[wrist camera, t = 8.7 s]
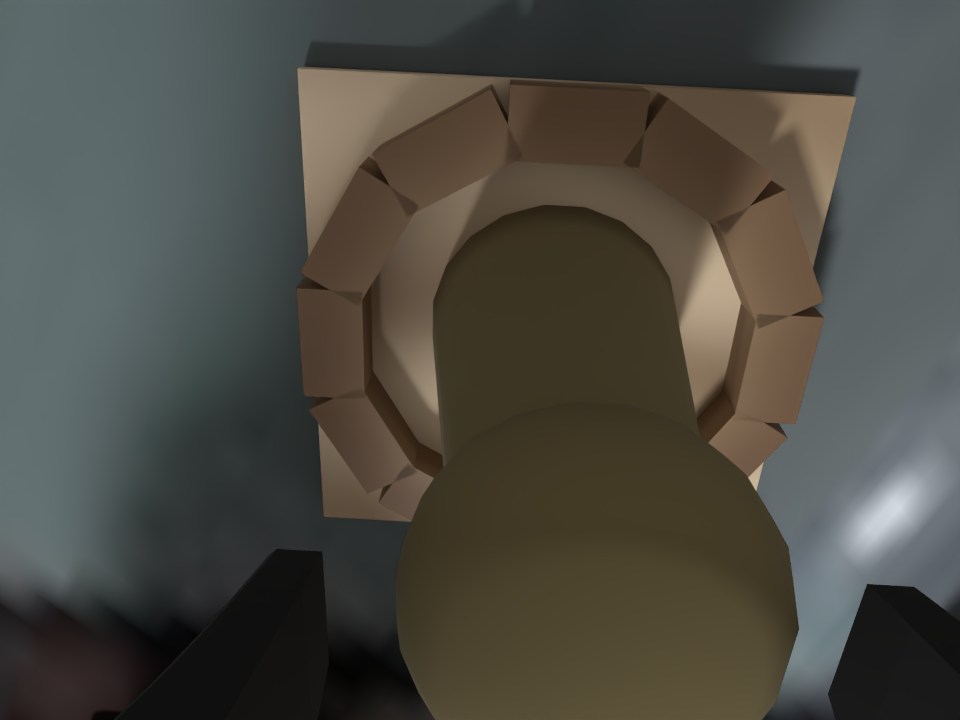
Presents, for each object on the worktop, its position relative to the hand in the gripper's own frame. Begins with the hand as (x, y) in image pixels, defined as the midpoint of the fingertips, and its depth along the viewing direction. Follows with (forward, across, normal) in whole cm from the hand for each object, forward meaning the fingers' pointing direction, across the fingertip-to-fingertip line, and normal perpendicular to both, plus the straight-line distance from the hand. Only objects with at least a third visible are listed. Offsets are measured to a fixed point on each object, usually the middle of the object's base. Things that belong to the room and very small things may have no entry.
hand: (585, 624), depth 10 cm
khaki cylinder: (+10, 0, 0) cm, 10 cm away
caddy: (+10, 0, 0) cm, 10 cm away
